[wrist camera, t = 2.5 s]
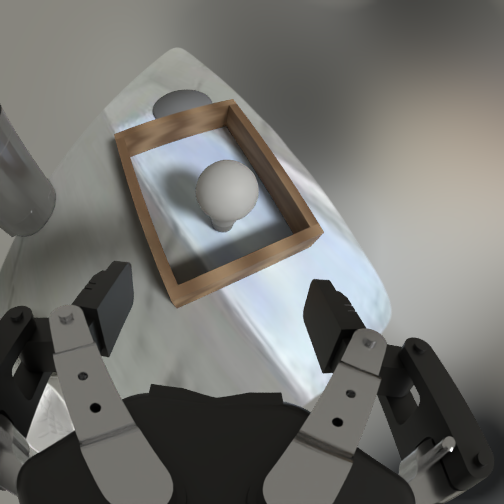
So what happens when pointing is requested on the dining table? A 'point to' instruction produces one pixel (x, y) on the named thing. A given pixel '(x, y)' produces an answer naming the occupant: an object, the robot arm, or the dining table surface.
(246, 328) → the dining table surface
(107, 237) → the dining table surface
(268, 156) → the shallow wooden tray
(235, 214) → the lightbulb
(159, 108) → the mat
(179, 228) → the dining table surface
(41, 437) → the white cup
